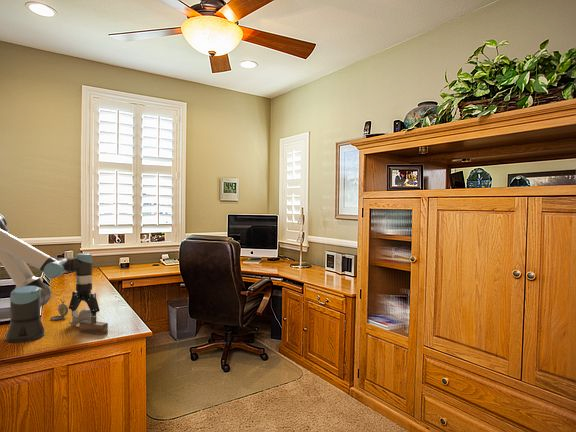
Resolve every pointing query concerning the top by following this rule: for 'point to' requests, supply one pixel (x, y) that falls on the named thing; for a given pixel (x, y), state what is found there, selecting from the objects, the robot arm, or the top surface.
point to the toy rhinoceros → (81, 317)
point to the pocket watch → (61, 312)
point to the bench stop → (93, 326)
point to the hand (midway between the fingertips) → (83, 323)
